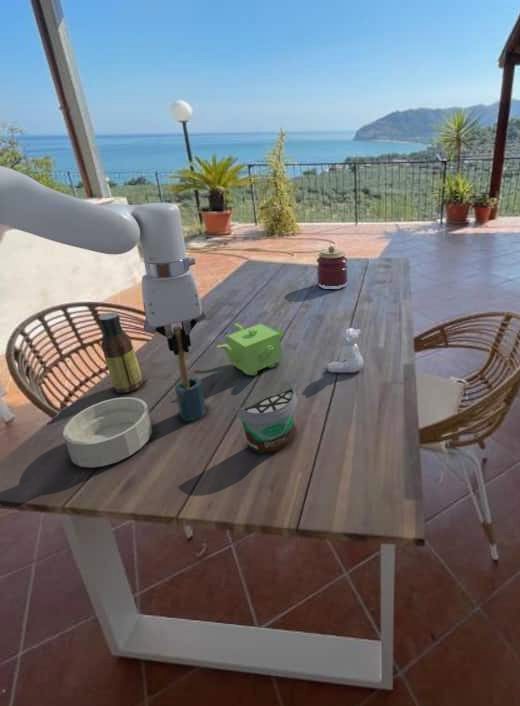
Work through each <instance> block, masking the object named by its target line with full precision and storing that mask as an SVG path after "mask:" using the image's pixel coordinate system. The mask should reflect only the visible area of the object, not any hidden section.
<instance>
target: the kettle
mask: <svg viewBox="0 0 520 706" xmlns="http://www.w3.org/2000/svg"><path fill="white" fill-rule="evenodd" d="M234 326H235V328H236V330H237V331H236V332H233V333H231V334H228V335H226V340H227V343H222V344H219V345H217V346H216V348H219V349H223V350H224V351H225V353H226V355H227V357H228V358H229V363H230V364H232V365H233V366H234V367H236V368H237V369H238V370H240V371H241V372H243V373H244V374H245V375H247V376H251V377H252V376H256V375H258V371H260V370H262V369H265V368H269V369H271V368H275V366H276V363H278V362H280V361H282V360H283V355H282V343H281V339H282V337H283V336H284V335H285V334H286V332H285V331H284V330H283V329H281V328H278V329H277V330H274V329H272V328H271V327H269V326H267V325H264V324H263V323H259V324H256V325H253V326H251V327H248V328H247V327H246V328H245V329H244V328H243V326H242V324H240V323H239V322H236V323H234Z"/></svg>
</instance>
